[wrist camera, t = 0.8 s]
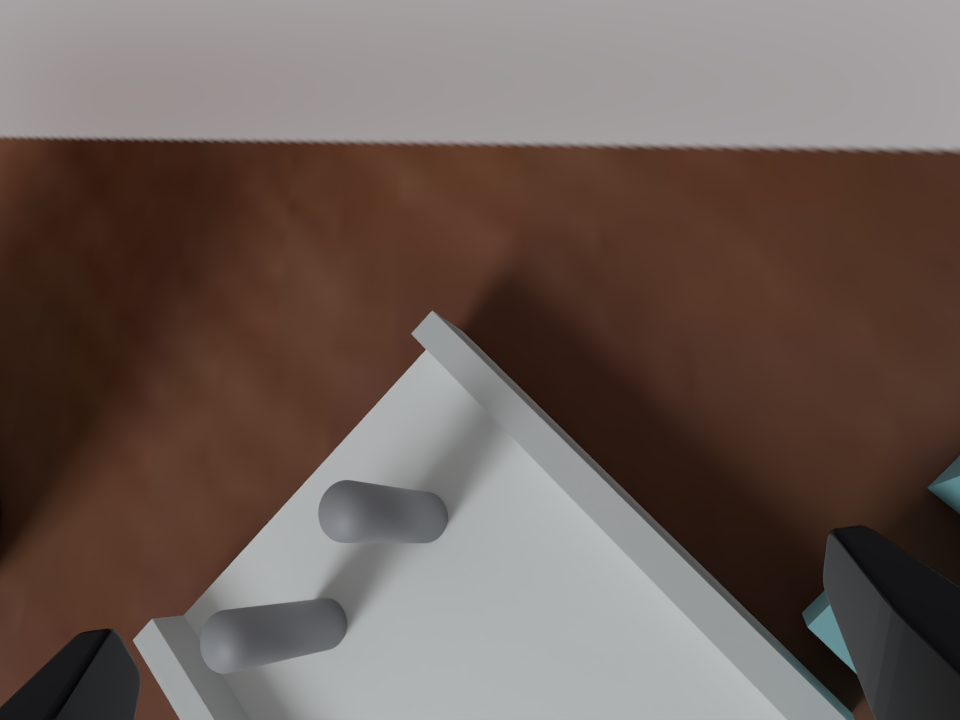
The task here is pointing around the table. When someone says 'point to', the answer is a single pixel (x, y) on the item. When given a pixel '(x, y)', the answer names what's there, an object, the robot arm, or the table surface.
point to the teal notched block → (952, 487)
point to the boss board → (470, 584)
